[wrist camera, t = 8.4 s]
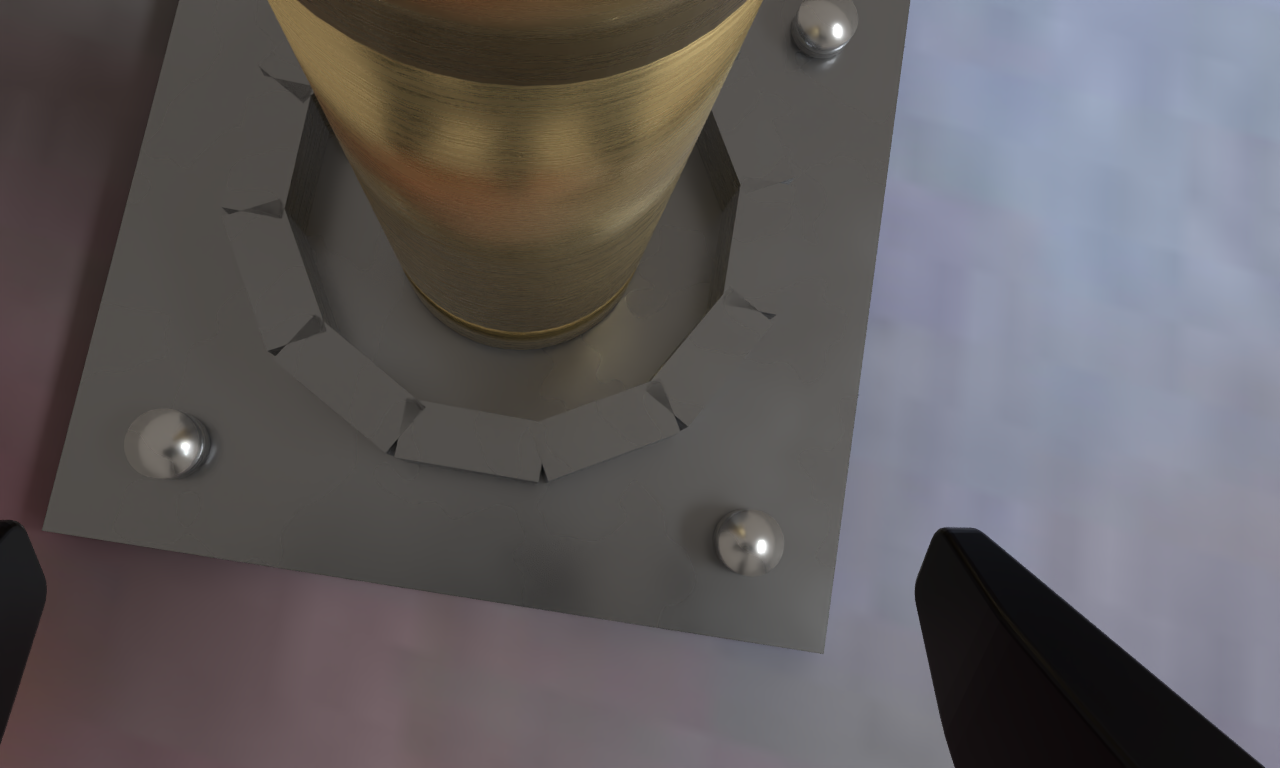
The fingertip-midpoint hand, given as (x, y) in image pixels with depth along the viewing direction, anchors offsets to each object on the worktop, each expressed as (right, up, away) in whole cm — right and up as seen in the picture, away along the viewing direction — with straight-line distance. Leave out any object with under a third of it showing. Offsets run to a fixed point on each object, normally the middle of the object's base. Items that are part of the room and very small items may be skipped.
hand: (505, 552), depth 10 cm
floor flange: (-1, +5, +9) cm, 10 cm away
